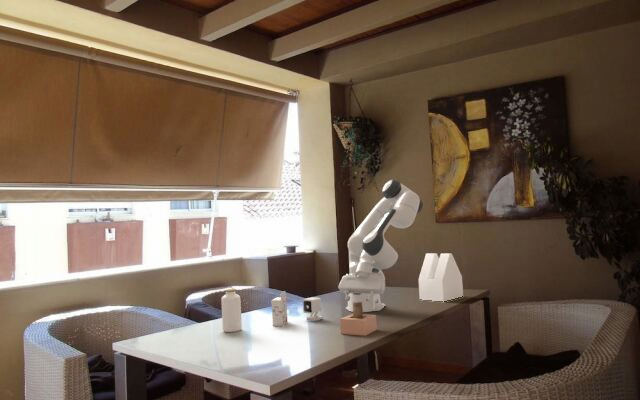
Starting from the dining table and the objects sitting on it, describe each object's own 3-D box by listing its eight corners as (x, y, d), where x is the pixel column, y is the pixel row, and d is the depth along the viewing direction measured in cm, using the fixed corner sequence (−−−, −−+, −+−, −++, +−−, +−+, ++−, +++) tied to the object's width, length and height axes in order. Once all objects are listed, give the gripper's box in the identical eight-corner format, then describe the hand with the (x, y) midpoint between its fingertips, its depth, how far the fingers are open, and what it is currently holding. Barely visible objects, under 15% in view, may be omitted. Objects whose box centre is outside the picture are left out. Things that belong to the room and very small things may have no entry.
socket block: (353, 327, 209) (352, 313, 209) (376, 329, 203) (376, 315, 203) (340, 333, 199) (340, 318, 199) (365, 335, 194) (364, 320, 194)
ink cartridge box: (277, 322, 230) (276, 290, 231) (287, 322, 229) (286, 290, 230) (272, 326, 221) (270, 293, 222) (282, 326, 220) (281, 293, 221)
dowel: (356, 330, 204) (355, 301, 204) (365, 331, 202) (363, 301, 202) (352, 332, 200) (350, 302, 201) (361, 333, 198) (359, 303, 199)
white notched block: (443, 302, 258) (440, 255, 260) (419, 300, 270) (416, 254, 271) (463, 297, 271) (460, 252, 273) (439, 295, 283) (436, 252, 284)
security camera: (303, 320, 231) (302, 299, 231) (313, 317, 236) (312, 296, 236) (313, 321, 226) (312, 300, 227) (323, 319, 232) (322, 297, 232)
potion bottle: (234, 327, 222) (233, 287, 223) (245, 329, 216) (243, 289, 217) (219, 331, 216) (217, 290, 217) (229, 333, 211) (227, 291, 211)
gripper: (341, 269, 217) (332, 295, 208) (384, 269, 208) (377, 296, 199) (345, 278, 221) (337, 303, 212) (388, 279, 212) (382, 305, 202)
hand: (357, 300), depth 205 cm, fingers open, 8 cm apart
